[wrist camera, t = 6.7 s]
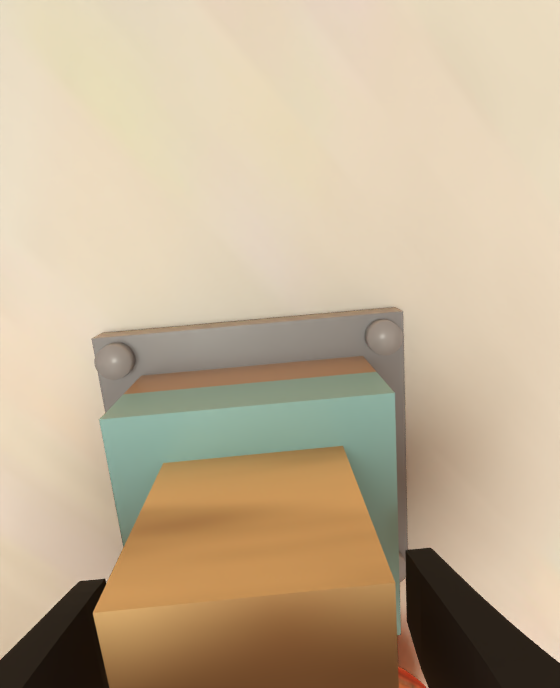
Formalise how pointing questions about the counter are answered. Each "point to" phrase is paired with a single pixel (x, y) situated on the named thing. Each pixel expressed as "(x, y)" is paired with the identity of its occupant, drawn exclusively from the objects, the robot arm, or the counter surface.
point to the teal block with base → (261, 404)
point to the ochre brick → (251, 580)
